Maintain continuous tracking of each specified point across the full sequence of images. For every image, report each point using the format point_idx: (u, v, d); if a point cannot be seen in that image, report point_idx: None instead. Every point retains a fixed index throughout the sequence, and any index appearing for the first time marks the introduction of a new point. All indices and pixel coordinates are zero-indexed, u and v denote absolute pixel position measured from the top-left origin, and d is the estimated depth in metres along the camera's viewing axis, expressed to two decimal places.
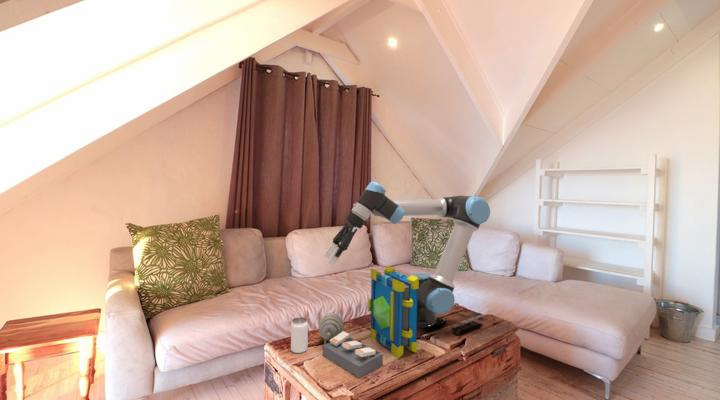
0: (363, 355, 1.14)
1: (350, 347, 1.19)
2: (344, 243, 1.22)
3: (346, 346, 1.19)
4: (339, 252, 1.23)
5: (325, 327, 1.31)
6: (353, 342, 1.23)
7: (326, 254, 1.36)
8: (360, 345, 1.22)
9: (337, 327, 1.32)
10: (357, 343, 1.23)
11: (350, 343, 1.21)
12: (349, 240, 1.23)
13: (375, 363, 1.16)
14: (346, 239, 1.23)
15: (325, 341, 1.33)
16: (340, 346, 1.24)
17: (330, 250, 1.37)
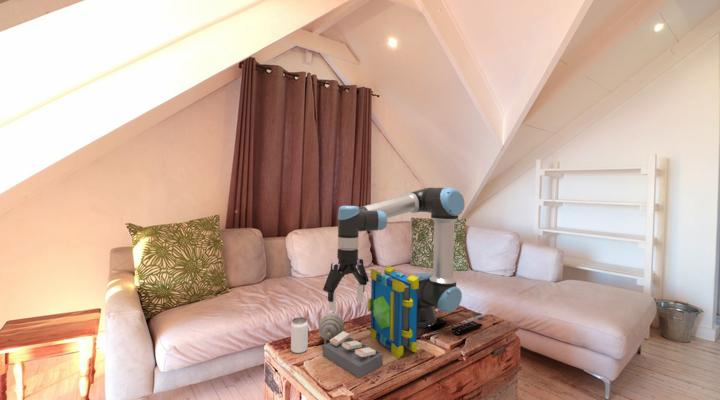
0: (363, 355, 1.14)
1: (350, 347, 1.19)
2: (325, 285, 1.13)
3: (346, 346, 1.19)
4: (329, 296, 1.14)
5: (325, 327, 1.31)
6: (353, 342, 1.23)
7: (358, 298, 1.25)
8: (360, 345, 1.22)
9: (337, 327, 1.32)
10: (357, 343, 1.23)
11: (350, 343, 1.21)
12: (330, 280, 1.13)
13: (375, 363, 1.16)
14: (327, 280, 1.14)
15: (325, 341, 1.33)
16: (340, 346, 1.24)
17: (359, 293, 1.24)
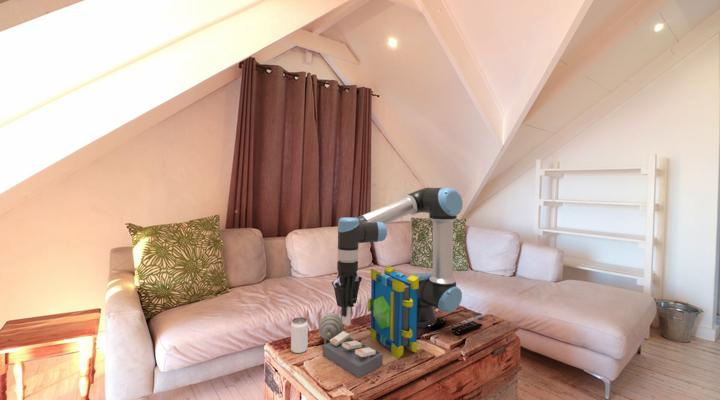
0: (363, 355, 1.14)
1: (350, 347, 1.19)
2: (337, 302, 1.17)
3: (346, 346, 1.19)
4: (342, 311, 1.18)
5: (325, 327, 1.31)
6: (353, 342, 1.23)
7: None
8: (360, 345, 1.22)
9: (337, 327, 1.32)
10: (357, 343, 1.23)
11: (350, 343, 1.21)
12: (338, 297, 1.15)
13: (375, 363, 1.16)
14: (336, 297, 1.16)
15: (325, 341, 1.33)
16: (340, 346, 1.24)
17: None
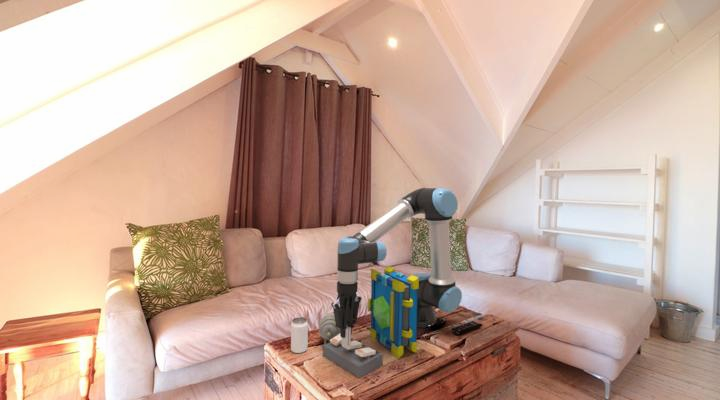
0: (363, 355, 1.14)
1: (350, 347, 1.19)
2: (336, 323, 1.17)
3: None
4: (341, 332, 1.18)
5: (325, 327, 1.31)
6: (353, 342, 1.23)
7: None
8: (360, 345, 1.22)
9: (337, 327, 1.32)
10: (357, 343, 1.23)
11: (350, 343, 1.21)
12: (337, 319, 1.15)
13: (375, 363, 1.16)
14: (335, 318, 1.16)
15: (325, 341, 1.33)
16: (340, 346, 1.24)
17: None
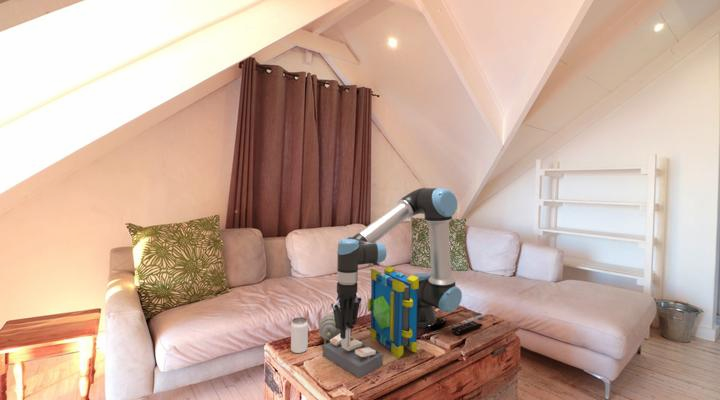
0: (363, 355, 1.14)
1: (350, 348, 1.19)
2: (336, 324, 1.17)
3: None
4: (341, 333, 1.18)
5: (325, 327, 1.31)
6: (353, 342, 1.23)
7: None
8: (360, 344, 1.22)
9: None
10: (357, 342, 1.23)
11: (350, 343, 1.21)
12: (337, 320, 1.15)
13: (375, 363, 1.16)
14: (335, 319, 1.16)
15: (325, 341, 1.33)
16: (340, 346, 1.24)
17: None
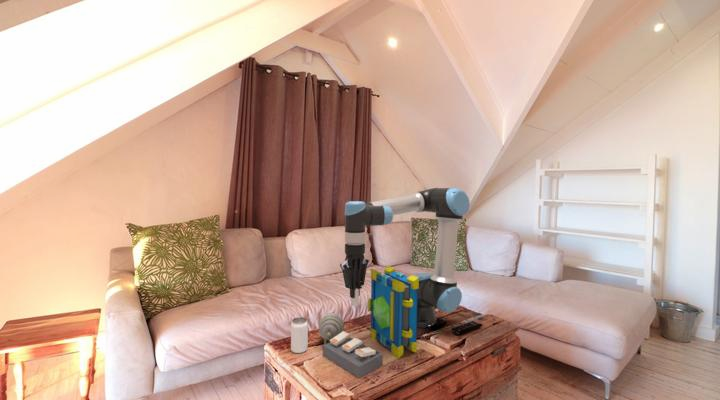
0: (363, 355, 1.14)
1: (350, 349, 1.19)
2: (345, 284, 1.19)
3: (346, 349, 1.19)
4: (351, 292, 1.20)
5: (325, 327, 1.31)
6: (353, 341, 1.23)
7: None
8: (360, 343, 1.22)
9: (337, 327, 1.32)
10: (357, 341, 1.22)
11: (350, 344, 1.21)
12: (347, 279, 1.18)
13: (375, 363, 1.16)
14: (344, 279, 1.19)
15: (325, 341, 1.33)
16: (340, 346, 1.24)
17: None
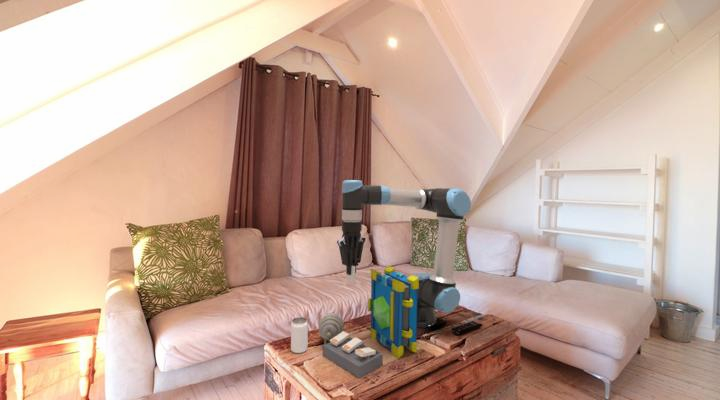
0: (363, 355, 1.14)
1: (350, 350, 1.19)
2: (342, 260, 1.22)
3: (346, 350, 1.19)
4: (347, 269, 1.23)
5: (325, 327, 1.31)
6: (353, 341, 1.23)
7: None
8: (360, 342, 1.22)
9: (337, 327, 1.32)
10: (357, 341, 1.22)
11: (349, 344, 1.21)
12: (343, 256, 1.20)
13: (375, 363, 1.16)
14: (341, 256, 1.21)
15: (325, 341, 1.33)
16: (340, 346, 1.24)
17: None
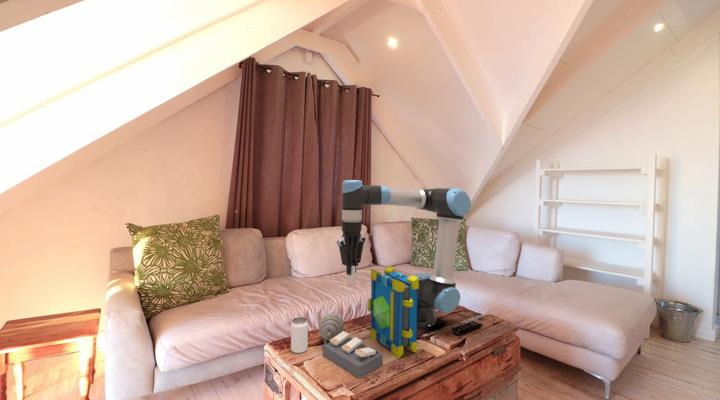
0: (363, 355, 1.14)
1: (350, 350, 1.19)
2: (342, 260, 1.22)
3: (346, 350, 1.19)
4: (347, 269, 1.23)
5: (325, 327, 1.31)
6: (352, 341, 1.23)
7: None
8: (360, 342, 1.22)
9: (337, 327, 1.32)
10: (357, 341, 1.22)
11: (349, 344, 1.21)
12: (343, 256, 1.20)
13: (375, 363, 1.16)
14: (341, 256, 1.21)
15: (325, 341, 1.33)
16: (340, 346, 1.24)
17: None
